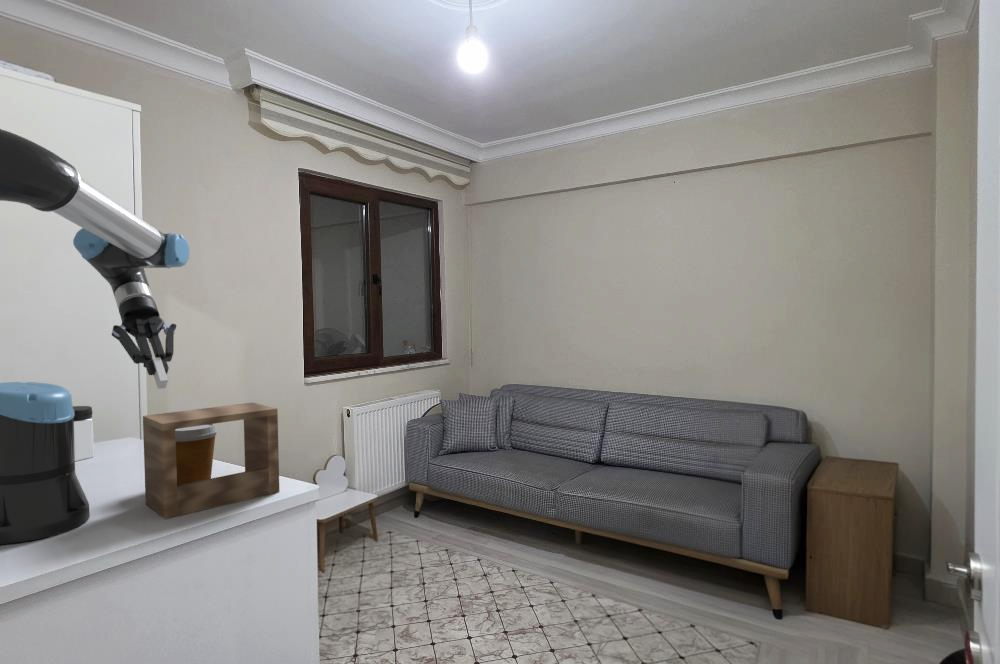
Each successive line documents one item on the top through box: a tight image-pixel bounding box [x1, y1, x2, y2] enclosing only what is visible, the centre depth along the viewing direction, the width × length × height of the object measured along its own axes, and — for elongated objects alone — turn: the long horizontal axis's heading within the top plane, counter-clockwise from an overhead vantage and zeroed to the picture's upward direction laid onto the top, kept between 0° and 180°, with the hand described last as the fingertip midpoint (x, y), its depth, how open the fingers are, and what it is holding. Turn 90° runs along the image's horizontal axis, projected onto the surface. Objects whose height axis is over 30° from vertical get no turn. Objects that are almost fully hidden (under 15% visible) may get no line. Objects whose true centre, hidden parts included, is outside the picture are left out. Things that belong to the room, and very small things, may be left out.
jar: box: [73, 405, 95, 463], centre depth 140 cm, size 9×8×12 cm
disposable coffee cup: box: [175, 423, 219, 485], centre depth 118 cm, size 10×10×12 cm
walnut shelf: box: [142, 402, 280, 520], centre depth 110 cm, size 20×11×16 cm, turn 136°
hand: (162, 384), depth 125 cm, fingers closed
